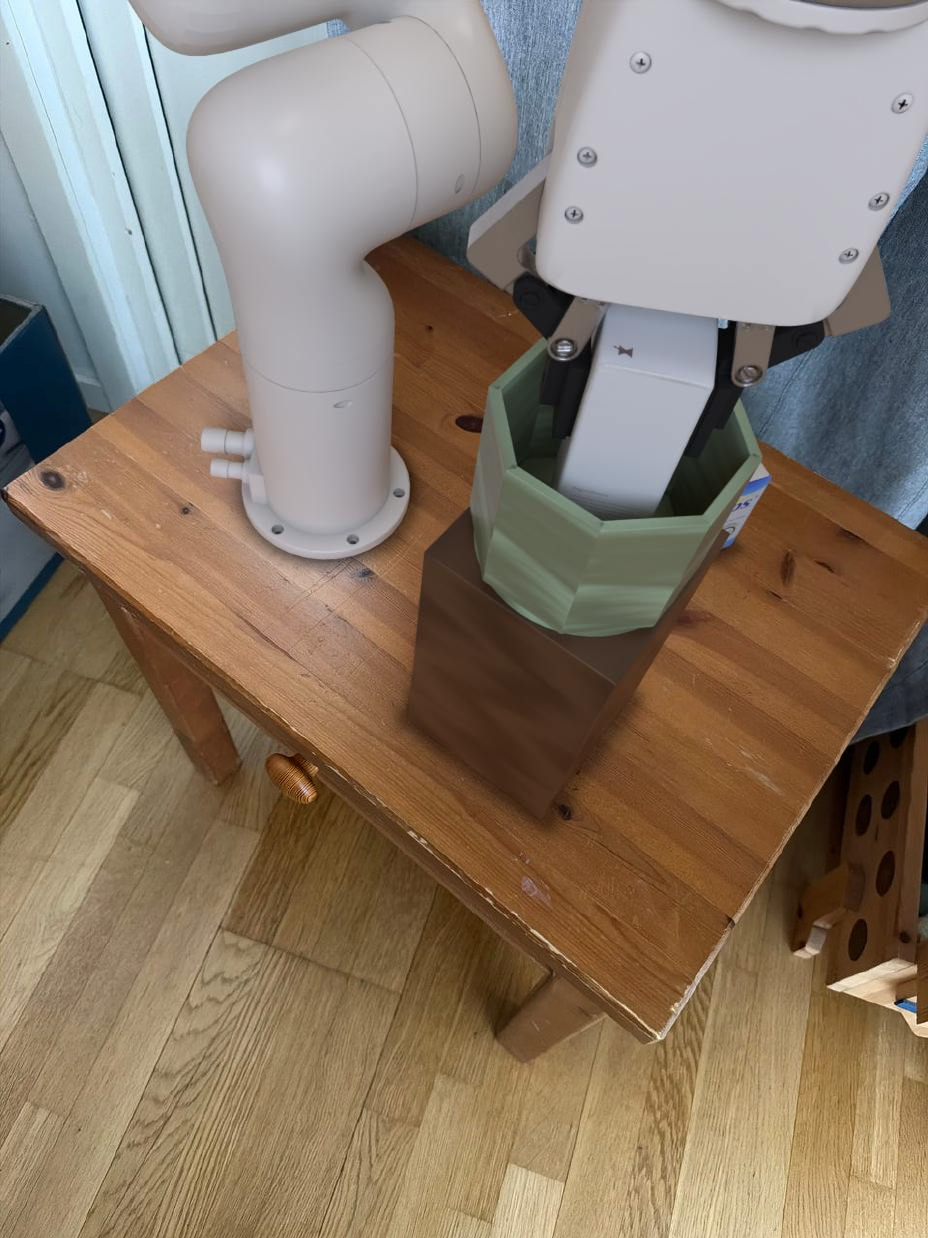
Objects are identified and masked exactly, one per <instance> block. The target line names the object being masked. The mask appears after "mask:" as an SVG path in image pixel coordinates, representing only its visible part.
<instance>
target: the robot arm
mask: <svg viewBox="0 0 928 1238" xmlns="http://www.w3.org/2000/svg"><path fill="white" fill-rule="evenodd" d="M127 1H128V3H129V5H130V6H131V9H132V10H133V11H134V13H135V14H136V16H137V18H138V19H139V20H140V21H141V23H142V25H143V26H144V27H145V28H146V29H147V31H148V32H149V33H150V34H151V35H152V37H153V38H154V39H156V40H157V41H158V42H159V43H160V44H161V45H162V46H163V47H165V48H166V49H168V50H170V51H172V52H173V53H176V54H179V55H181V56H189V57H207V56H214V55H219V54H225V53H228V52H229V53H230V52H234V51H236V50H241V49H245V48H248V47H251V46H254V45H257V44H261V43H264V42H268V41H271V40H274V39H277V38H280V37H283V36H286V35H290V34H293V33H296V32H300V31H302V30H306V29H309V28H312V27H316V26H318V25H321V24H326V23H328V22H331V21H335V20H338V21H341V23H343V25H344V26H345V27H346V29H347V30H348V31H349V32H347V33H343V34H340V35H337V36H330V37H327V38H323V39H320V40H318V41H317V40H316V41H314V42H312V43H309V44H305V45H302V46H300V47H296V48H293V49H290V50H286V51H283V52H281V53H278V54H275V55H272V56H269V57H267V58H263V59H261V60H258V61H255V62H254V63H251V64H249V65H246V66H244V67H241V68H240V69H238V70H236V71H235V72H233V73H230V74H229V75H227V76H225V77H224V78H222V79H221V80H219V81H218V82H216V83H215V84H214V85H213V86H212V87H211V88H210V89H209V90H208V91H207V92H206V93H205V94H204V95H203V96H202V97H201V99H199V101H198V102H197V104H196V106H195V107H194V109H193V111H192V113H191V115H190V118H189V120H188V124H187V127H186V134H185V151H186V152H185V153H186V159H187V164H188V169H189V174H190V176H191V180H192V183H193V186H194V190H195V193H196V196H197V199H198V201H199V203H200V206H201V209H202V212H203V214H204V217H205V220H206V222H207V225H208V229H209V231H210V233H211V235H212V238H213V241H214V245H215V247H216V250H217V251H218V255H219V259H220V262H221V266H222V270H223V273H224V277H225V280H226V285H227V288H228V294H229V297H230V302H231V307H232V308H231V309H232V313H233V318H234V324H235V325H234V326H235V330H236V336H237V337H236V338H237V342H238V347H239V351H240V357H241V363H242V369H243V376H244V382H245V387H246V388H245V389H246V393H247V399H248V400H247V401H248V406H249V414H250V418H251V425H252V427H247V429H246V430H245V432H244V431H238V430H231V429H230V428H226V427H220V426H212V425H204V426H203V428H202V430H201V435H200V448H201V451H202V452H204V453H210V454H211V453H212V454H219V455H235V456H242V457H243V459H244V461H243V462H241V461H234V460H232V459H225V458H219V457H212V458H211V460H210V465H209V473H210V476H211V477H213V478H219V479H228V480H229V479H234V480H241V487H240V488H241V496H242V502H243V506H244V511H245V513H246V516H247V517H248V519H249V521H250V524H251V525H252V526H253V528H254V529H255V530H256V531H257V532H258V533H259V534H260V536H262V538H263V539H265V540H266V541H268V542H269V543H270V544H272V545H273V546H274V547H276V548H278V549H280V550H283V551H284V552H286V553H289V554H291V555H296V556H298V557H302V558H305V559H306V558H307V559H313V560H314V559H316V560H339V559H345V558H349V557H354V556H357V555H359V554H362V553H365V552H368V551H370V550H372V549H373V548H375V547H377V546H379V545H381V544H382V543H383V542H385V541H386V540H387V539H388V538H389V537H390V536H392V535H393V534H394V532H395V531H396V530H397V529H398V527H399V526H400V525H401V523H402V522H403V519H404V517H405V516H406V513H407V511H408V508H409V503H410V496H411V494H410V493H411V481H410V475H409V471H408V469H407V466H406V463H405V461H404V459H403V458H402V456H401V454H399V452H398V450H396V448H395V447H394V446H392V423H393V421H392V420H393V395H394V393H393V392H394V391H393V390H394V366H395V365H394V362H395V335H396V317H395V316H396V315H395V309H394V303H393V299H392V297H391V294H390V291H389V289H388V287H387V285H386V283H385V282H384V280H383V279H382V278H381V276H380V275H379V273H378V272H377V271H376V270H375V269H374V268H373V267H372V266H371V265H370V264H369V263H368V262H367V261H366V260H365V258H366V256H367V255H368V254H369V253H371V252H372V251H374V250H375V249H376V248H378V247H380V246H382V245H384V244H386V243H388V242H390V241H392V240H394V239H397V238H399V237H401V236H402V235H403V234H405V233H407V232H410V231H412V230H414V229H415V228H416V229H417V228H419V227H421V226H423V225H425V224H427V223H430V222H432V221H434V220H436V219H438V218H441V217H443V216H445V215H448V214H450V213H452V212H455V211H456V210H459V209H460V208H462V207H465V206H468V205H469V204H472V203H473V202H475V201H477V200H479V199H481V198H482V197H484V196H485V195H487V194H489V193H490V192H491V191H492V190H494V189H495V188H496V187H497V186H498V185H499V184H500V183H501V182H502V180H503V179H504V177H505V176H506V175H507V173H508V172H509V170H510V169H511V166H512V163H513V161H514V159H515V155H516V150H517V145H518V138H519V137H518V136H519V134H518V133H519V123H518V122H519V119H518V110H517V109H518V108H517V102H516V97H515V93H514V89H513V84H512V80H511V77H510V74H509V71H508V68H507V65H506V62H505V59H504V56H503V54H502V52H501V49H500V45H499V43H498V41H497V39H496V36H495V33H494V31H493V28H492V26H491V24H490V20H489V18H488V16H487V13H486V12H485V9H484V6H483V4H482V2H481V0H127ZM552 115H553V116H552V121H551V124H550V128H549V133H548V138H547V142H546V147H545V152H544V156H543V159H541V160H540V161H539V162H538V163H536V165H535V166H534V167H532V168H531V169H530V170H529V172H527V173H526V174H525V175H524V176H523V177H522V178H521V179H520V180H519V181H518V182H517V183H516V184H514V185H513V186H512V187H511V188H510V189H509V190H508V191H506V193H504V194H503V195H502V196H501V197H500V198H499V199H497V201H496V202H495V203H493V204H492V205H491V206H490V207H489V208H487V210H486V211H484V213H483V214H482V215H480V217H478V218H477V219H476V220H475V221H474V222H473V223H472V224H471V225H470V227H469V233H468V240H467V245H466V254H465V256H466V260H467V262H468V263H469V264H470V265H471V266H472V268H474V269H475V270H476V271H478V272H479V273H481V275H483V277H485V278H486V279H488V281H490V282H491V283H492V284H493V285H495V286H496V287H497V288H498V289H500V290H501V291H506V292H507V293H508V294H509V295H510V296H512V297H511V298H512V303H513V304H514V306H515V307H516V309H518V310H519V312H520V313H521V314H522V315H523V316H524V317H525V318H526V319H527V321H528V322H529V323H530V324H531V325H532V326H533V327H534V328H535V329H536V331H537V332H538V333H539V334H540V335H541V337H544V338H545V339H546V340H547V341H548V344H547V351H548V352H547V356H546V361H545V365H544V369H543V374H542V379H541V386H540V397H539V404H542V405H549V406H554V409H553V426H552V438H556V439H563V440H565V438H566V436H567V437H571V434H572V430H573V427H574V423H575V420H576V417H577V413H578V410H579V406H580V403H581V400H582V396H583V393H584V390H585V387H586V383H587V380H588V377H589V373H590V365H591V337H592V334H593V332H594V331H595V329H596V328H597V326H598V324H599V323H600V321H601V320H602V318H603V316H604V315H605V313H606V312H607V310H608V309H609V307H610V305H611V304H612V303H617V304H623V305H629V306H636V307H642V308H649V309H656V310H662V311H669V312H676V313H682V314H689V315H697V316H704V317H711V318H718V319H719V320H724V321H725V320H727V321H726V326H727V327H719V326H718V342H717V357H716V369H715V380H714V387H713V390H712V392H711V394H710V396H709V398H708V400H707V402H706V405H705V407H704V409H703V411H702V413H701V415H700V418H699V420H698V422H697V424H696V426H695V428H694V430H693V432H692V434H691V436H690V438H689V441H688V443H687V445H686V447H685V449H684V451H683V453H684V456H685V457H692V458H699V456H700V455H701V453H702V451H703V449H704V447H705V444H706V442H707V440H708V438H709V436H710V434H711V432H712V430H713V429H720V430H722V429H723V428H724V427H725V425H726V423H727V421H728V419H729V417H730V415H731V413H732V411H733V409H734V407H735V405H736V403H737V401H738V399H739V397H740V398H741V396H742V394H743V391H744V390H745V388H752V387H755V386H758V385H759V384H760V383H762V382H763V381H764V380H765V378H766V376H767V373H768V369H770V368H773V367H776V366H778V365H780V364H782V363H785V362H787V361H789V360H791V359H794V358H795V357H798V356H801V355H803V354H805V353H807V352H810V351H812V350H814V349H815V348H818V347H819V346H820V345H821V344H822V343H823V342H824V340H825V339H827V338H829V337H831V338H832V339H836V338H838V337H841V336H844V335H845V336H846V335H848V334H850V333H854V332H857V331H860V330H864V329H866V328H870V327H874V326H876V325H878V324H881V323H882V322H883V323H884V321H887V319H888V318H889V317H890V315H891V314H892V306H891V300H890V296H889V291H888V286H887V282H886V277H885V273H884V269H883V265H882V264H883V263H882V260H881V257H880V251H879V249H878V248H879V247H878V244H877V243H878V242H879V240H880V237H881V236H882V234H883V232H884V231H885V228H886V226H887V223H888V222H889V220H890V218H891V215H892V213H893V211H894V209H895V207H896V205H897V203H898V201H899V199H900V197H901V194H902V192H903V190H904V188H905V186H906V184H907V182H908V179H909V177H910V174H911V173H912V170H913V168H914V166H915V163H916V161H917V159H918V156H919V154H920V151H921V149H922V146H923V145H924V142H925V139H926V138H927V135H928V0H582V3H581V6H580V10H579V13H578V17H577V21H576V24H575V28H574V31H573V34H572V38H571V42H570V46H569V50H568V54H567V57H566V62H565V66H564V69H563V72H562V76H561V82H560V85H559V89H558V93H557V98H556V103H555V106H554V111H553V114H552ZM535 237H536V247H535V252H534V251H531V250H530V246H529V245H528V243H529V242H530V241H531V240H532V239H534V238H535Z"/></svg>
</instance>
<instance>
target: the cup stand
mask: <svg viewBox="0 0 928 1238" xmlns="http://www.w3.org/2000/svg"><path fill="white" fill-rule="evenodd" d="M592 335H593V334H592ZM591 338H592V337H591ZM547 344H548V341H547V340H546V339H545V338H544V337H543V336H541V338H539V339H538V340H537V341H536V342H535V343H534V344H533V345H531V347H530V348H529V349H528V350H526V351H525V352H524V353H523V354H522V355H521V356H520V357H519V358H518V359H517V360H516V361H514V362H513V363H512V364H511V365H510V366H509V367H508V368H507V369H506V370H505V371H504V372H503V373H502V374H500V376H498V377H497V378H496V379H495V380H494V381H493V382H492V383H491V384H489V386H488V389H487V394H486V395H487V396H486V402H485V407H484V412H483V413H484V414H483V419H482V420H483V421H482V426H481V433H480V437H479V438H480V439H479V444H478V451H477V455H476V456H477V457H476V461H475V462H476V463H475V469H474V474H473V475H474V476H473V482H472V488H471V492H470V493H471V494H470V499H469V505H468V507H467V508H466V509H465V510H464V511H463V512H462V513H461V514H459V516H458V517H457V518H456V519H455V520H454V521H453V522H452V523H451V524H450V525H449V526H448V527H447V528H446V529H445V530H444V531H443V532H442V533H441V534H440V535H439V536H438V537H437V538H436V539H435V540H434V541H433V542H432V543H431V544H430V545H429V546H428V547H427V548H426V550H424V552H423V558H422V567H421V568H422V569H421V578H420V589H419V600H418V610H417V619H416V630H415V640H414V648H413V649H414V650H413V658H412V659H413V661H412V670H411V671H412V672H411V679H410V680H411V681H410V691H409V701H408V712H407V720H408V721H409V722H411V723H412V724H413V725H414V726H416V727H417V728H419V729H420V730H421V731H423V732H424V733H425V734H426V735H428V736H429V737H430V738H432V739H433V740H434V741H435V742H436V743H438V744H440V745H441V746H443V748H445V749H446V750H448V751H449V752H450V753H452V754H453V755H454V756H455V757H457V758H458V759H459V760H461V761H462V762H463V763H465V764H466V765H468V766H469V767H470V768H472V769H473V770H474V771H475V772H477V773H478V774H479V775H481V776H482V777H483V778H485V779H486V780H487V781H489V782H490V783H492V784H493V785H494V786H495V787H497V788H498V789H499V790H501V791H502V792H503V793H505V794H506V795H507V796H508V797H510V798H511V799H512V800H514V801H515V802H516V803H518V804H519V805H521V806H522V807H523V808H525V810H527V811H528V812H530V813H531V814H532V815H534V816H535V817H536V818H538V819H539V820H543V818H544V817H545V816H546V815H547V813H548V812H549V810H550V809H551V807H552V806H553V805H554V803H556V801H557V800H558V798H559V797H560V796H561V794H562V793H563V792H564V790H565V789H566V787H567V786H568V785H569V783H570V782H571V780H572V779H573V778H574V776H575V775H576V773H577V772H578V771H579V769H581V767H582V765H583V764H584V763H585V762H586V760H587V759H588V757H589V756H590V755H591V754H592V752H593V750H594V749H595V748H596V746H597V745H598V744H599V743H600V742H601V740H602V738H603V737H604V736H605V735H606V733H607V732H608V731H609V728H610V727H611V726H612V725H613V724H614V722H615V721H616V719H618V717H619V715H621V712H623V710H624V709H625V707H626V706H627V704H628V703H629V702H630V701H631V699H632V697H633V695H634V694H635V692H636V691H637V689H638V688H639V686H640V684H641V683H642V681H643V678H644V677H645V676H646V674H647V673H648V671H649V669H650V668H651V666H652V664H653V663H654V661H655V659H656V658H657V656H658V654H659V653H660V651H661V649H662V648H663V646H664V644H665V643H666V641H667V639H668V638H669V636H670V635H671V633H672V631H673V630H674V628H675V626H676V625H677V623H678V621H679V620H680V618H681V617H682V615H683V613H684V611H685V610H686V608H687V607H688V605H689V603H690V602H691V600H692V598H693V597H694V596H695V594H696V591H697V590H698V589H699V587H700V586H701V584H702V582H703V581H704V578H705V577H706V575H707V574H708V571H709V570H710V569H711V567H712V566H713V564H714V562H715V560H717V557H718V555H719V554H720V552H721V551H722V550H723V548H722V547H723V546H724V544H725V542H726V541H727V539H728V537H729V536H730V533H729V532H727V531H726V530H724V529H723V528H722V527H723V526H724V524H725V522H726V521H727V519H728V517H729V515H730V514H731V512H732V510H733V509H734V507H735V505H736V503H737V502H738V500H739V498H740V497H741V495H742V493H743V492H744V490H745V488H746V486H747V485H748V483H749V481H750V480H751V478H752V476H753V475H754V473H755V471H756V469H757V468H758V466H759V464H760V463H762V461H763V454H762V451H761V449H760V446H759V444H758V441H757V438H756V436H755V433H754V430H753V428H752V425H751V423H750V420H749V417H748V414H747V413H746V410H745V407H744V404H743V402H742V399H741V396H740V397H739V399H738V401H737V403H736V405H735V407H734V409H733V411H732V413H731V415H730V417H729V419H728V421H727V423H726V425H725V427H724V428H723V429H722V430H720V429H713V430H712V432H711V434H710V436H709V438H708V440H707V442H706V444H705V447H704V449H703V451H702V453H701V455H700V456H699V458H692V457H685V456H684V453H682V456H681V458H680V460H679V462H678V464H677V466H676V468H675V470H674V473H673V475H672V477H671V479H670V481H669V483H668V485H667V487H666V490H665V492H664V494H663V496H662V498H661V500H660V503H659V505H658V507H657V508H656V510H655V513H654V515H653V517H652V518H646V519H629V520H612V521H602V520H600V519H599V518H597V517H596V516H594V515H592V514H591V513H589V512H588V511H586V510H585V509H583V508H582V507H580V506H578V505H577V504H575V503H574V502H572V501H571V500H569V499H568V498H566V497H565V496H563V495H561V494H560V493H558V492H557V491H555V490H554V489H552V488H551V487H550V485H551V480H552V475H553V470H554V465H555V461H556V457H557V454H558V450H559V447H560V443H561V440H562V439H556V438H552V426H553V409H554V406H549V405H542V404H539V397H540V386H541V379H542V374H543V369H544V365H545V361H546V356H547V352H548V351H547Z"/></svg>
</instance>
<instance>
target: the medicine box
mask: <svg viewBox="0 0 928 1238" xmlns="http://www.w3.org/2000/svg"><path fill="white" fill-rule="evenodd" d="M770 481H772V476H771V475H770V473H769V471H768V470H767V469H766V467H765V465H764V464H763V463H762V462H761V463H760V464H759V466H758V468H757V469H756V471H755V473H754V475H753V476H752V478H751V480H750V481H749V483H748V485H747V486H746V488H745V490H744V492H743V493H742V495H741V497H740V498H739V500H738V502H737V503H736V505H735V507H734V509H733V510H732V512H731V514H730V515H729V517H728V519H727V521H726V522H725V524H724V526H723V527H722V528H723V529H724V530H726V531H727V532H729V533H730V536H729V537H728V539H727V541H726V542H725V544H724V546H723V547H722V549H725V548H728V547H730V546H731V545H733V543H734V541H735V539H736V537H737V536H738V534H739V533H740V531H741V530H742V528H743V526H744V524H745V522H746V521H747V519H748V518H749V516H750V515H751V513H752V511H753V510H754V508H755V506H756V504H757V503H758V502H759V500H760V498H761V496H762V495H763V493H764V492H765V490H766V488H767V487H768V485H769V483H770Z"/></svg>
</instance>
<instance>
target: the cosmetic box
mask: <svg viewBox="0 0 928 1238" xmlns="http://www.w3.org/2000/svg"><path fill="white" fill-rule="evenodd" d="M719 320H720V319H718V318H711V317H704V316H697V315H689V314H682V313H676V312H669V311H662V310H656V309H649V308H642V307H636V306H629V305H623V304H617V303H612V304H611V305H610V307H609V309H608V310H607V312H606V313H605V315H604V316H603V318H602V320H601V321H600V323H599V324H598V326H597V328H596V329H595V331H594V332H593V335H592V338H591V365H590V373H589V377H588V380H587V383H586V387H585V390H584V393H583V396H582V400H581V403H580V406H579V410H578V413H577V417H576V420H575V423H574V427H573V430H572V434H571V437H567V436H566V438H565V440H563V439H562V440H561V443H560V447H559V450H558V454H557V457H556V461H555V465H554V470H553V475H552V480H551V485H550V487H551V488H552V489H554V490H555V491H557V492H558V493H560V494H561V495H563V496H565V497H566V498H568V499H569V500H571V501H572V502H574V503H575V504H577V505H578V506H580V507H582V508H583V509H585V510H586V511H588V512H589V513H591V514H592V515H594V516H596V517H597V518H599V519H600V520H602V521H612V520H629V519H646V518H652V517H653V515H654V513H655V510H656V508H657V507H658V505H659V503H660V500H661V498H662V496H663V494H664V492H665V490H666V487H667V485H668V483H669V481H670V479H671V477H672V475H673V473H674V470H675V468H676V466H677V464H678V462H679V460H680V458H681V456H682V453H683V451H684V449H685V447H686V445H687V443H688V441H689V438H690V436H691V434H692V432H693V430H694V428H695V426H696V424H697V422H698V420H699V418H700V415H701V413H702V411H703V409H704V407H705V405H706V402H707V400H708V398H709V396H710V394H711V392H712V390H713V387H714V380H715V369H716V357H717V342H718V327H719Z"/></svg>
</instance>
